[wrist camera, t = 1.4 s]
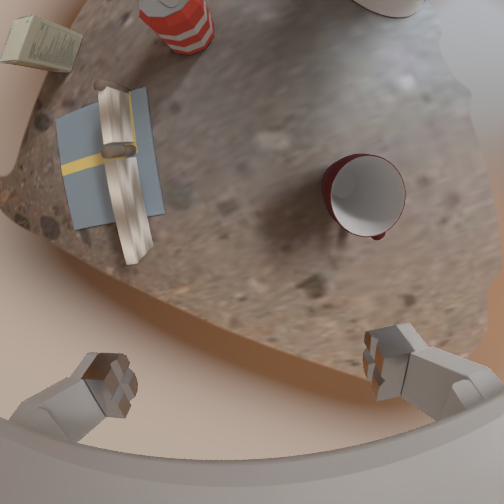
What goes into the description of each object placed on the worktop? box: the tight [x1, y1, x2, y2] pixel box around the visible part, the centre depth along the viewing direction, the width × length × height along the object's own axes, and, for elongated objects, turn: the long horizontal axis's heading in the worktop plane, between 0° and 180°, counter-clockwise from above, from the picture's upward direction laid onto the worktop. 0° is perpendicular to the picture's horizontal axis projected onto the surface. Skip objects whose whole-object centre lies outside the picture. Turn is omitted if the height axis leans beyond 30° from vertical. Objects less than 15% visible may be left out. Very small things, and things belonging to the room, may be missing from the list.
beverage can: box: [139, 0, 214, 55], centre depth 23 cm, size 6×6×12 cm
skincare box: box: [0, 15, 83, 72], centre depth 23 cm, size 6×4×12 cm
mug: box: [322, 154, 406, 240], centre depth 31 cm, size 11×8×10 cm
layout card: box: [55, 87, 165, 230], centre depth 35 cm, size 17×15×1 cm
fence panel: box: [104, 157, 153, 265], centre depth 33 cm, size 12×1×6 cm, turn 7°
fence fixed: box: [94, 78, 136, 159], centre depth 29 cm, size 9×1×7 cm, turn 7°
